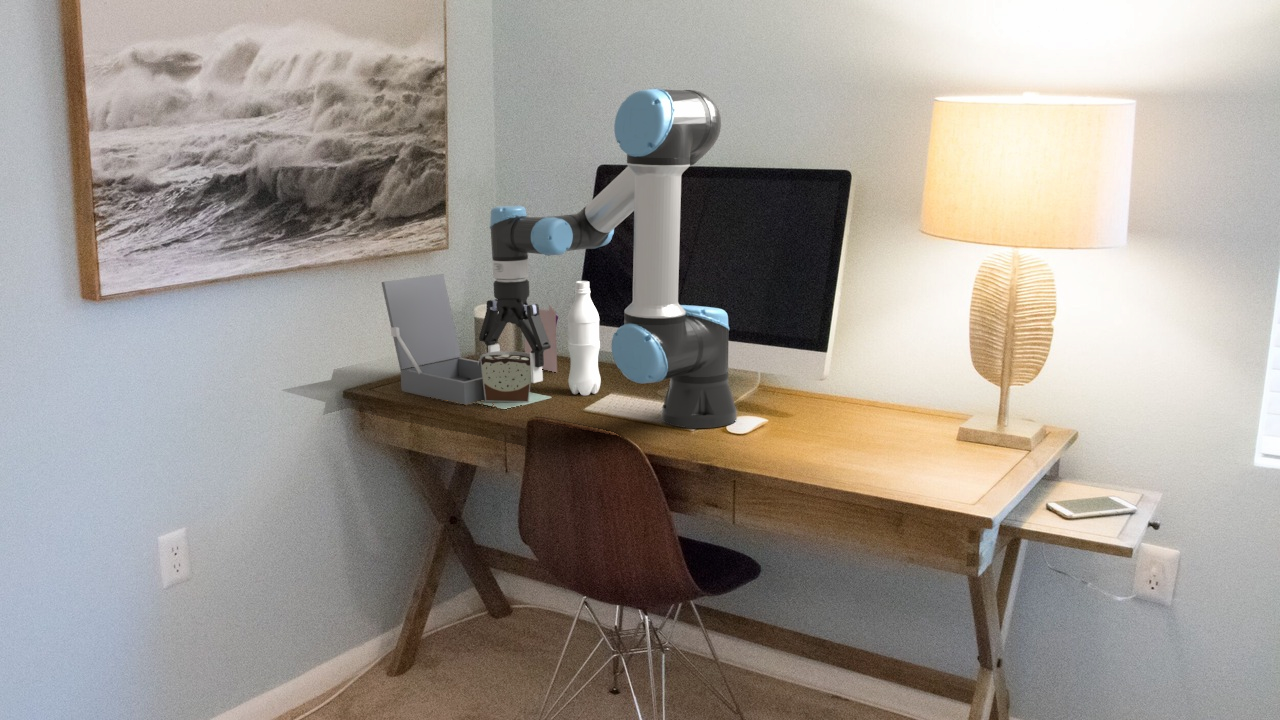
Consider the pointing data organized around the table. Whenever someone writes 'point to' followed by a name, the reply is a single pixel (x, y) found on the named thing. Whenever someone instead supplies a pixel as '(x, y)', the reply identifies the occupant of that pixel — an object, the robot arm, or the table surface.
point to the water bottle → (583, 342)
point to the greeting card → (549, 324)
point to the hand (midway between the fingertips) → (515, 377)
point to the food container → (506, 376)
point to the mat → (504, 405)
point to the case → (429, 341)
